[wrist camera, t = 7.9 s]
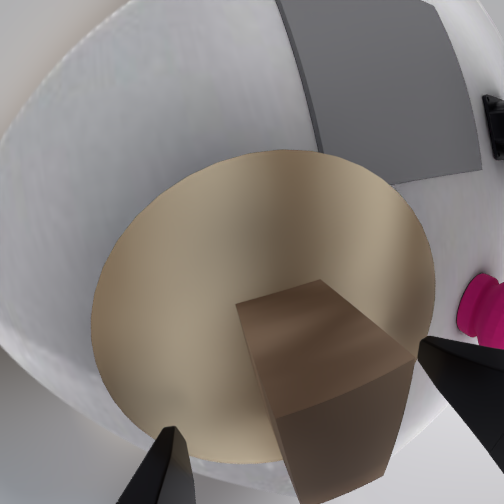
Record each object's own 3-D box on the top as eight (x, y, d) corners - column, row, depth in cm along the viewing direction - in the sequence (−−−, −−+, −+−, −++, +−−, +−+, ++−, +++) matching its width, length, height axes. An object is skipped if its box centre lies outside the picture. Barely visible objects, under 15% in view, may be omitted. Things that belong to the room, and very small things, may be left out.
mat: (430, 8, 12) (433, 6, 12) (477, 169, 17) (482, 170, 16) (264, -28, 10) (266, -33, 10) (327, 195, 15) (332, 196, 14)
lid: (414, 135, 10) (526, 128, 4) (410, 393, 14) (461, 446, 8) (44, 218, 8) (-74, 260, 2) (179, 471, 12) (186, 551, 6)
